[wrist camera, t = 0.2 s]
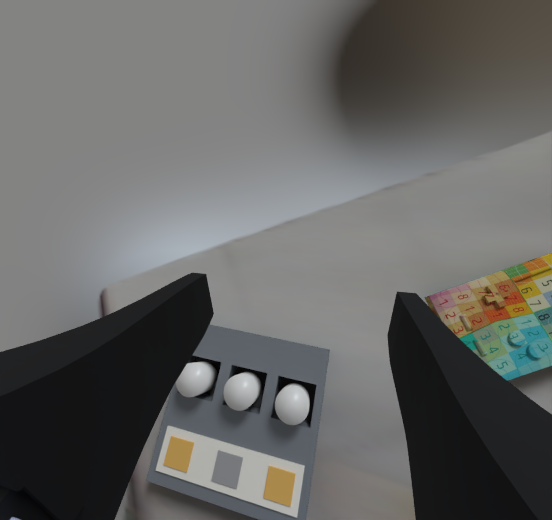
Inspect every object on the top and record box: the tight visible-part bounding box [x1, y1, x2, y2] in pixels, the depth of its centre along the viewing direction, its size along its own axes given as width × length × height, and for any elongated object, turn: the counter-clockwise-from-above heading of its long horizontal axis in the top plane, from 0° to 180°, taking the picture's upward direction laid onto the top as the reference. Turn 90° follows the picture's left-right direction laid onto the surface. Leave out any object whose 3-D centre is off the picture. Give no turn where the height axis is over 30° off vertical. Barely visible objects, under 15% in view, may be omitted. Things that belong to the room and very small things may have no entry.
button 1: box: [275, 383, 310, 425], centre depth 34 cm, size 4×4×4 cm
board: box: [146, 325, 330, 520], centre depth 36 cm, size 20×20×4 cm
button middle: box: [224, 372, 262, 411], centre depth 35 cm, size 4×4×4 cm
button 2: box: [176, 361, 217, 397], centre depth 36 cm, size 4×4×4 cm
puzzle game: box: [425, 253, 552, 381], centre depth 35 cm, size 12×5×20 cm
